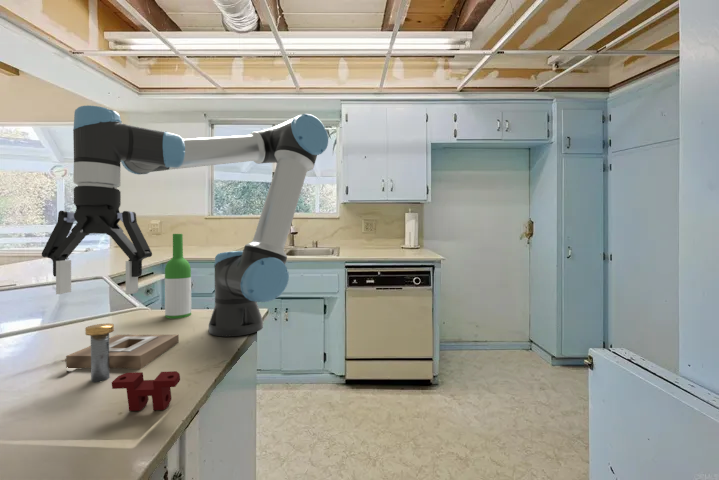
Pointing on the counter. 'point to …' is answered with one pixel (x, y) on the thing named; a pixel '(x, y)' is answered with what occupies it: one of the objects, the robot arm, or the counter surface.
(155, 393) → the bracket
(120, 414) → the counter surface
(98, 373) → the flanged metal peg
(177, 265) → the wine bottle
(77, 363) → the wooden square socket block
